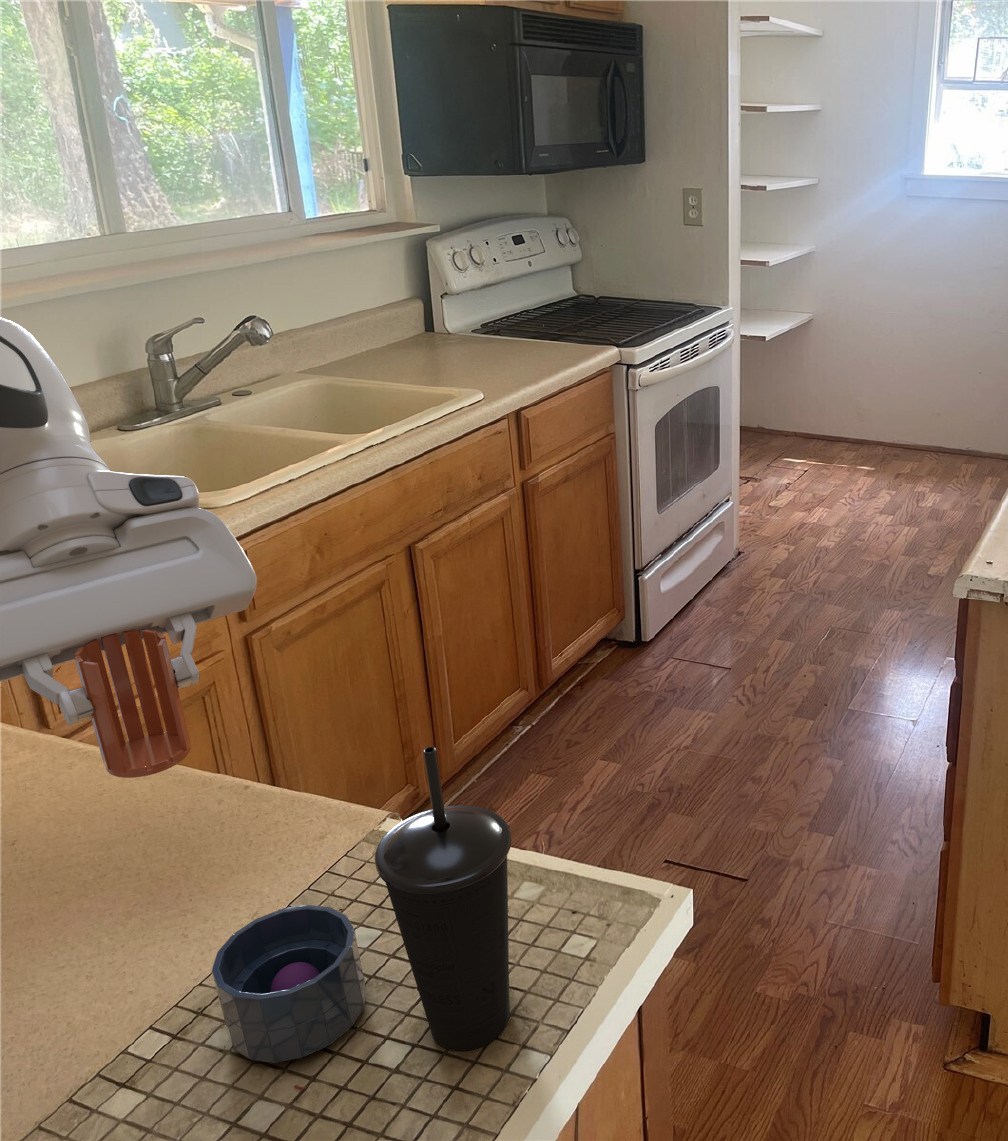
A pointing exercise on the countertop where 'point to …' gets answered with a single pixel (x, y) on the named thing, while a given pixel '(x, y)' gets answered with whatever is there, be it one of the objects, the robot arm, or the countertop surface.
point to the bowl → (303, 1011)
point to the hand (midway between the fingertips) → (137, 700)
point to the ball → (293, 976)
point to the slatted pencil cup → (134, 704)
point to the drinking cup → (453, 913)
